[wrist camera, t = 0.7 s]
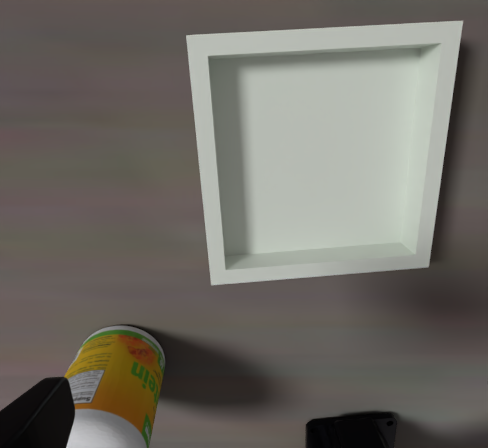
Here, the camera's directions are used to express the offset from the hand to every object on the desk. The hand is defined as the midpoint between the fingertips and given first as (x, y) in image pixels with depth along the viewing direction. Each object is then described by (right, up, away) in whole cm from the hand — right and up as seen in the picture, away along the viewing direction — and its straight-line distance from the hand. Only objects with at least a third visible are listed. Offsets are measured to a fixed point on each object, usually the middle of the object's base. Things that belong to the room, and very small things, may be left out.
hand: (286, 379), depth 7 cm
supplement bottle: (-9, -5, +16) cm, 18 cm away
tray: (+3, +7, +12) cm, 14 cm away
